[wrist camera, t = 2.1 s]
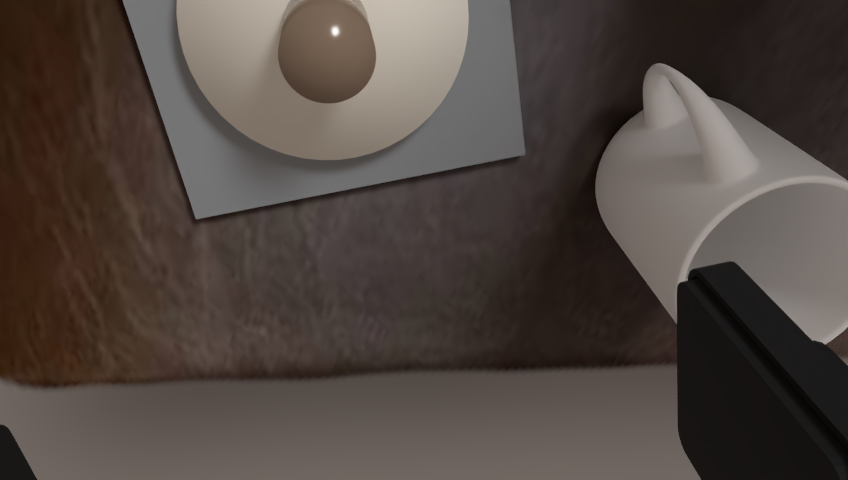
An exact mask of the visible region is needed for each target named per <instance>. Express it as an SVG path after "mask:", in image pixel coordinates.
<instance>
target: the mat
mask: <svg viewBox="0 0 848 480" xmlns="http://www.w3.org/2000/svg"><path fill="white" fill-rule="evenodd" d="M123 3H124V6H125V9H126V12H127V15H128V18H129V21H130V24H131V27H132V30H133V33H134V36H135V39H136V42H137V45H138V48H139V51H140V54H141V57H142V60H143V63H144V66H145V69H146V72H147V75H148V78H149V81H150V84H151V87H152V90H153V93H154V96H155V99H156V102H157V105H158V108H159V111H160V114H161V117H162V119H163V122H164V125H165V128H166V131H167V134H168V137H169V140H170V143H171V146H172V149H173V152H174V155H175V158H176V161H177V164H178V167H179V170H180V173H181V176H182V179H183V182H184V185H185V188H186V191H187V194H188V197H189V200H190V203H191V206H192V209H193V212H194V215H195V218H196V219H201V218H206V217H211V216H216V215H221V214H226V213H231V212H236V211H241V210H246V209H251V208H257V207H262V206H267V205H272V204H277V203H282V202H287V201H292V200H297V199H302V198H307V197H313V196H318V195H323V194H328V193H333V192H338V191H343V190H348V189H353V188H358V187H363V186H369V185H374V184H379V183H384V182H389V181H394V180H399V179H404V178H409V177H414V176H419V175H425V174H430V173H435V172H440V171H445V170H450V169H455V168H460V167H465V166H470V165H475V164H481V163H486V162H491V161H496V160H501V159H506V158H511V157H516V156H521V155H525V145H524V135H523V125H522V115H521V106H520V96H519V86H518V76H517V66H516V57H515V47H514V37H513V27H512V18H511V8H510V0H468V12H469V23H468V37H467V43H466V48H465V53H464V57H463V60H462V63H461V66H460V69H459V72H458V74H457V76H456V78H455V80H454V82H453V85H452V87H451V89H450V90H449V92H448V93H447V95H446V96H445V98H444V100H443V101H442V103H441V104H440V105H439V106H438V108H437V109H436V110H435V111H434V112H433V114H432V115H431V116H430V117H429V118H428V119H427V120H426V121H425V122H424V123H423V124H421V125H420V126H419V127H418V128H417V129H416V130H414V131H413V132H412V133H410V134H409V135H407V136H406V137H405V138H403V139H401V140H400V141H398V142H396V143H394V144H392V145H391V146H389V147H386V148H384V149H381V150H379V151H376V152H374V153H371V154H367V155H363V156H360V157H356V158H349V159H341V160H314V159H305V158H300V157H295V156H291V155H287V154H284V153H281V152H278V151H275V150H273V149H270V148H268V147H266V146H264V145H262V144H260V143H258V142H256V141H254V140H252V139H250V138H249V137H247V136H246V135H244V134H243V133H241V132H240V131H238V130H237V129H236V128H235V127H234V126H232V125H231V124H230V123H229V122H228V121H227V120H225V119H224V118H223V117H222V116H221V115H220V114H219V113H218V111H217V110H216V109H215V108H214V107H213V106H212V105H211V104H210V102H209V101H208V100H207V98H206V97H205V95H204V94H203V93H202V91H201V90H200V88H199V87H198V85H197V83H196V81H195V79H194V77H193V75H192V74H191V72H190V69H189V67H188V64H187V61H186V59H185V56H184V54H183V50H182V46H181V42H180V38H179V33H178V24H177V15H176V12H177V0H123Z"/></svg>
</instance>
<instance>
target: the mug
mask: <svg viewBox="0 0 848 480" xmlns="http://www.w3.org/2000/svg"><path fill="white" fill-rule="evenodd" d="M669 80H670V81H669ZM670 82H671V83H672V84H673V86H674V87H675V89H676V90H677V91H676V90H675V89H674V87H673V86H672V84H671V83H670ZM677 92H678V93H677ZM643 108H644V110H642V111H640V112H639V113H638V114H636V115H635V116H633V117H632V118H631V119H630V120H629V121H628V122H626V123H625V124H624V125H623V126H622V127H621V128H620V129H619V131H618V132H617V133H616V134H615V135H614V137H613V138H612V140H611V141H610V142H609V144H608V146H607V148H606V150H605V151H604V153H603V156H602V158H601V161H600V163H599V166H598V170H597V174H596V182H595V195H596V201H597V206H598V209H599V212H600V215H601V218H602V220H603V222H604V224H605V225H606V227H607V229H608V230H609V232H610V233H611V235H612V236H613V238H614V239H615V240H616V242H617V243H618V244H619V246H620V247H621V248H622V250H623V251H624V253H625V254H626V255H627V257H628V258H629V259H630V261H631V262H632V264H633V265H634V266H635V268H636V269H637V270H638V272H639V273H640V274H641V276H642V277H643V279H644V280H645V281H646V283H647V284H648V285H649V287H650V288H651V290H652V291H653V292H654V294H655V295H656V296H657V298H658V299H659V300H660V302H661V303H662V305H663V306H664V307H665V309H666V310H667V311H668V313H669V314H670V316H671V317H672V318H673V320H674V321H675V322H676V324H677V286H678V284H679V283H680V282H684V281H688V275H689V272H690V271H691V270H692V269H695V268H700V267H705V266H709V265H714V264H719V263H724V262H728V261H732V262H735V263H736V264H737V265H739V266H740V267H741V268H742V269H743V270H744V271H745V272H746V273H747V274H748V275H749V277H750V278H751V279H752V280H753V281H754V282H755V283H756V284H757V285H758V286H759V287H760V288H761V289H762V290H763V291H764V292H765V293H766V294H767V295H768V296H769V297H770V298H771V299H772V300H773V301H774V302H775V303H776V304H777V305H778V306H779V307H780V308H781V309H782V310H783V311H784V312H785V313H786V314H787V315H788V316H789V317H790V318H791V319H792V320H793V321H794V322H795V323H796V324H797V325H798V326H799V328H800V329H801V330H802V331H803V332H804V333H805V334H806V335H807V336H808V337H809V338H810V339H811V340H812V341H813V340H815V341H818V342H822V343H823V344H827V343H828V342H830V341H831V340H833V339H834V338H835V337H837V336H838V335H839V334H841V333H842V332H843V331H844V330H845V329H846V328H847V327H848V180H846V179H845V178H843V177H842V176H840V175H839V174H837V173H836V172H834V171H833V170H831V169H830V168H828V167H827V166H825V165H824V164H822V163H821V162H819V161H818V160H816V159H815V158H813V157H812V156H810V155H809V154H807V153H806V152H804V151H802V150H801V149H799V148H798V147H796V146H795V145H793V144H792V143H790V142H789V141H787V140H786V139H784V138H783V137H781V136H780V135H778V134H777V133H775V132H774V131H772V130H771V129H769V128H768V127H766V126H765V125H763V124H762V123H760V122H759V121H757V120H756V119H754V118H753V117H751V116H749V115H748V114H746V113H745V112H743V111H742V110H740V109H738V108H737V107H735V106H733V105H731V104H729V103H727V102H724V101H722V100H719V99H715V98H711V97H708V96H707V95H706V94H705V93H704V92H703V91H702V90H701V89H700V88H699V87H698V86H697V85H696V84H695V83H694V82H692V81H691V80H690V79H689V78H687V77H686V76H685V75H683V74H682V73H680V72H679V71H677V70H675V69H674V68H672V67H670V66H668V65H665V64H662V63H657V64H654V65H652V66H651V67H650V68H649V69H648V70H647V73H646V75H645V78H644V83H643Z"/></svg>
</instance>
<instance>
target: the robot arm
mask: <svg viewBox="0 0 848 480" xmlns="http://www.w3.org/2000/svg"><path fill="white" fill-rule="evenodd" d="M677 375H678V376H677V378H678V380H677V381H678V382H677V383H678V432H679V437H680V440H681V444H682V446H683V449H684V451H685V453H686V454H687V456H688V458H689V460H690V461H691V463H692V465H693V466H694V468H695V470H696V471H697V473H698V475H699V476H700V478H701V480H848V366H847V365H846V364H845V363H844V362H843V361H842V360H841V359H840V358H839V357H838V356H837V355H836V354H835V353H834V352H833V351H832V350H831V349H830V348H829V347H827V346H826V345H825V344H823V343H822V342H818V341H815V340H813V341H812V340H811V339H810V338H809V337H808V336H807V335H806V334H805V333H804V332H803V331H802V330H801V329H800V328H799V326H798V325H797V324H796V323H795V322H794V321H793V320H792V319H791V318H790V317H789V316H788V315H787V314H786V313H785V312H784V311H783V310H782V309H781V308H780V307H779V306H778V305H777V304H776V303H775V302H774V301H773V300H772V299H771V298H770V297H769V296H768V295H767V294H766V293H765V292H764V291H763V290H762V289H761V288H760V287H759V286H758V285H757V284H756V283H755V282H754V281H753V280H752V279H751V278H750V277H749V275H748V274H747V273H746V272H745V271H744V270H743V269H742V268H741V267H740V266H739V265H737V264H736V263H735V262H732V261H728V262H724V263H719V264H714V265H709V266H705V267H700V268H695V269H692V270H691V271H690V272H689V275H688V281H684V282H680V283H679V284H678V286H677ZM0 480H37V479H36V477H35V475H34V473H33V472H32V470H31V468H30V466H29V464H28V462H27V460H26V459H25V457H24V455H23V453H22V451H21V450H20V448H19V446H18V444H17V442H16V441H15V439H14V437H13V435H12V433H11V432H10V430H9V429H8V428H7V427H6V426H4V425H0Z"/></svg>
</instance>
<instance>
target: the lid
mask: <svg viewBox="0 0 848 480" xmlns="http://www.w3.org/2000/svg"><path fill="white" fill-rule="evenodd" d="M176 15H177V24H178V33H179V38H180V42H181V46H182V50H183V54H184V56H185V59H186V61H187V64H188V67H189V69H190V72H191V74H192V75H193V77H194V79H195V81H196V83H197V85H198V87H199V88H200V90H201V91H202V93H203V94H204V95H205V97H206V98H207V100H208V101H209V102H210V104H211V105H212V106H213V107H214V108H215V109H216V110H217V111H218V113H219V114H220V115H221V116H222V117H223V118H224V119H225V120H227V121H228V122H229V123H230V124H231V125H232V126H234V127H235V128H236V129H237V130H238V131H240V132H241V133H243V134H244V135H246V136H247V137H249V138H250V139H252V140H254V141H256V142H258V143H260V144H262V145H264V146H266V147H268V148H270V149H273V150H275V151H278V152H281V153H284V154H287V155H291V156H295V157H300V158H305V159H314V160H341V159H349V158H356V157H360V156H363V155H367V154H371V153H374V152H376V151H379V150H381V149H384V148H386V147H389V146H391V145H392V144H394V143H396V142H398V141H400V140H401V139H403V138H405V137H406V136H407V135H409V134H410V133H412V132H413V131H414V130H416V129H417V128H418V127H419V126H420V125H421V124H423V123H424V122H425V121H426V120H427V119H428V118H429V117H430V116H431V115H432V114H433V112H434V111H435V110H436V109H437V108H438V106H439V105H440V104H441V103H442V101H443V100H444V98H445V96H446V95H447V93H448V92H449V90H450V89H451V87H452V85H453V82H454V80H455V78H456V76H457V74H458V72H459V69H460V66H461V63H462V60H463V57H464V53H465V48H466V43H467V37H468V23H469V12H468V0H177V12H176Z"/></svg>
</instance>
